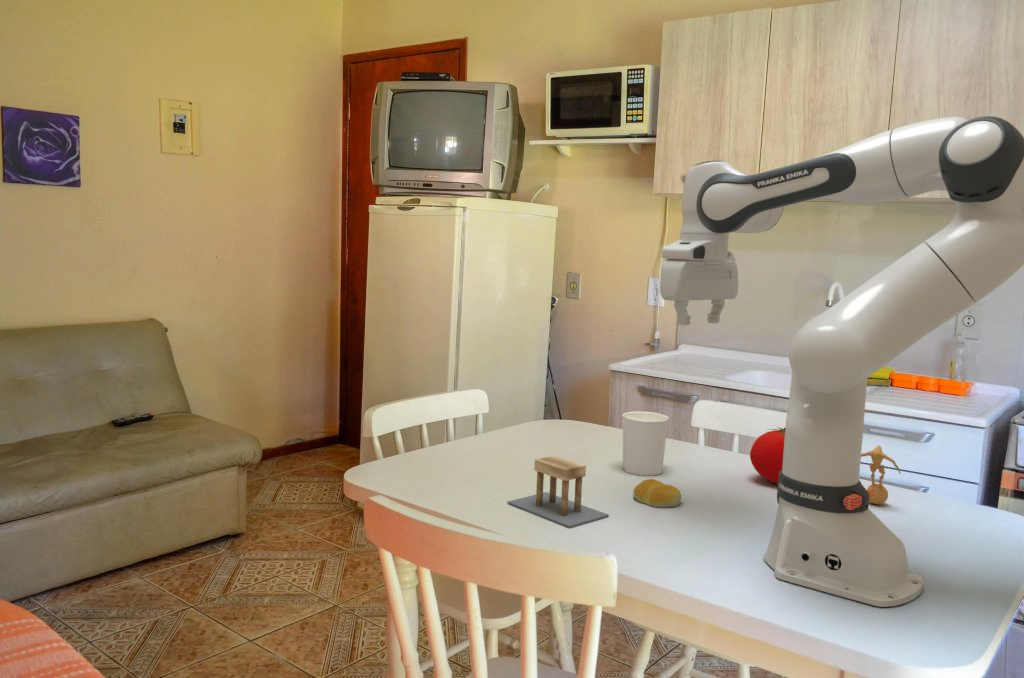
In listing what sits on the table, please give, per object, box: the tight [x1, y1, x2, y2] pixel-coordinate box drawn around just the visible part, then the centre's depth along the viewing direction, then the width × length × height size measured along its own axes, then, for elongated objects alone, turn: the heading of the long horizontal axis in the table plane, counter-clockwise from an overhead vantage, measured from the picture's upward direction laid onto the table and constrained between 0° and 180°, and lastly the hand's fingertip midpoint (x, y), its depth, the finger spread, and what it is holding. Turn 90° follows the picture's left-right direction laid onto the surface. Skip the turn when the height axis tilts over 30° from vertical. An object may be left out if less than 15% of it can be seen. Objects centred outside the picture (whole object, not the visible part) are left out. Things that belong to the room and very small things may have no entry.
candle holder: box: [622, 410, 670, 477], centre depth 177 cm, size 10×10×12 cm
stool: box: [534, 455, 587, 516], centre depth 148 cm, size 5×8×8 cm, turn 42°
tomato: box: [749, 426, 786, 484], centre depth 172 cm, size 12×14×11 cm
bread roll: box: [633, 478, 682, 508], centre depth 157 cm, size 8×9×4 cm
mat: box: [507, 491, 610, 529], centre depth 149 cm, size 16×10×1 cm, turn 42°
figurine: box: [861, 445, 901, 506], centre depth 158 cm, size 8×6×12 cm
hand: (698, 324), depth 155 cm, fingers open, 8 cm apart
